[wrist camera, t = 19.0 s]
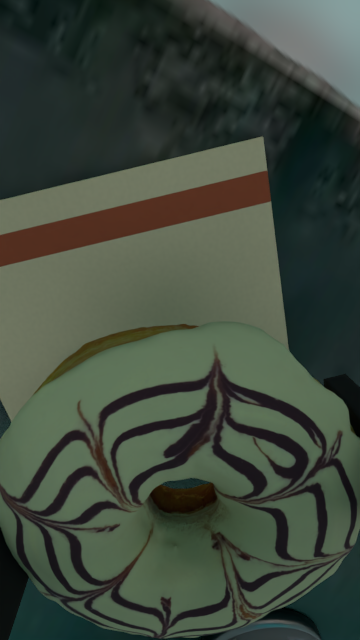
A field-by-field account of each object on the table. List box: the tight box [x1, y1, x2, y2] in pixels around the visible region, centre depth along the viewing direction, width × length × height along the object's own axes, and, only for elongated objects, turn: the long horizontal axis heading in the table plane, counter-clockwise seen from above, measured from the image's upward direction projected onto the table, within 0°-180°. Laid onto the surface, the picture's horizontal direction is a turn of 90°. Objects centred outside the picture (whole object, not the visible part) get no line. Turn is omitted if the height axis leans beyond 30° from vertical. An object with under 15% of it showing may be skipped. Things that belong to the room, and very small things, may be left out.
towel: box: [0, 137, 289, 422], centre depth 25 cm, size 24×23×1 cm
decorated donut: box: [0, 321, 360, 638], centre depth 10 cm, size 10×11×4 cm
